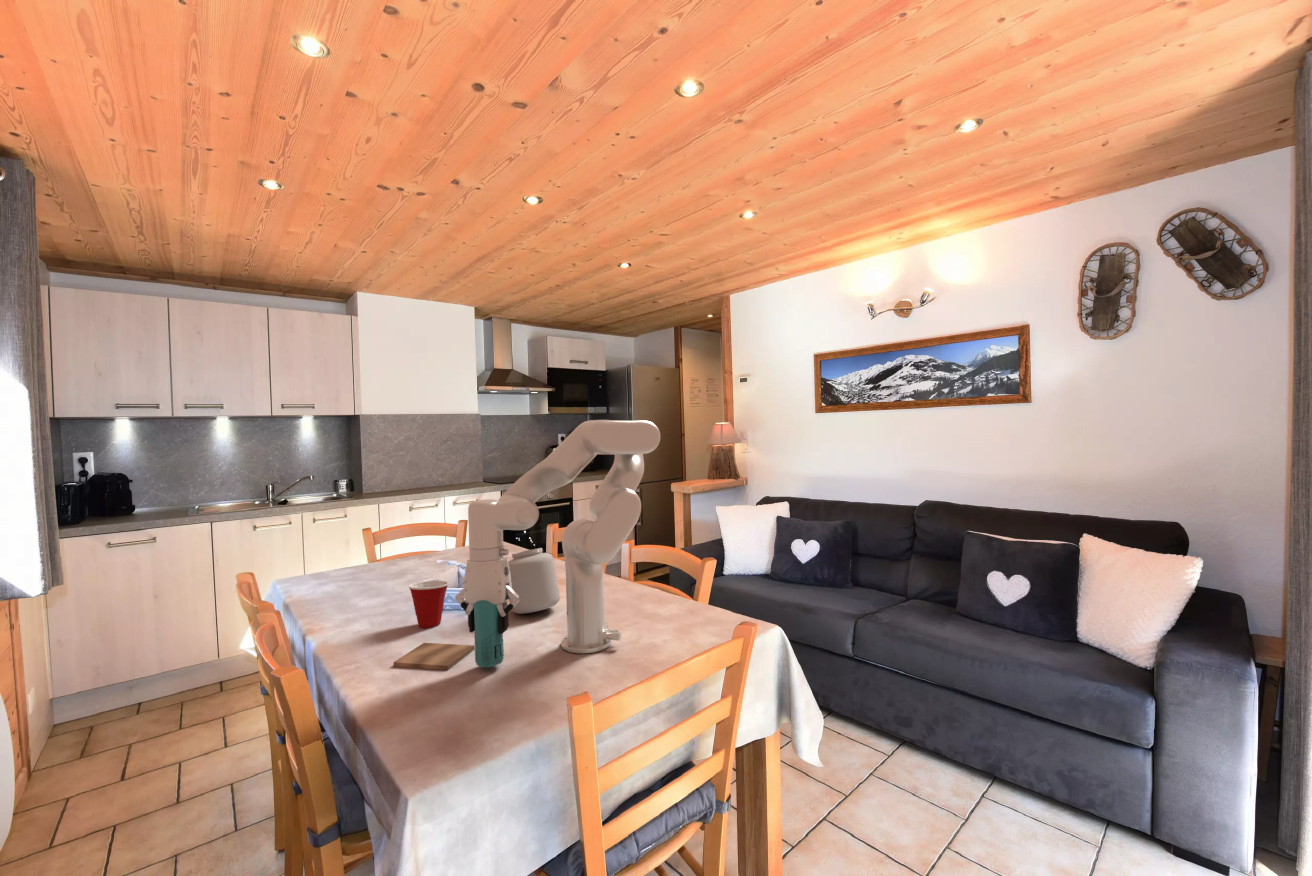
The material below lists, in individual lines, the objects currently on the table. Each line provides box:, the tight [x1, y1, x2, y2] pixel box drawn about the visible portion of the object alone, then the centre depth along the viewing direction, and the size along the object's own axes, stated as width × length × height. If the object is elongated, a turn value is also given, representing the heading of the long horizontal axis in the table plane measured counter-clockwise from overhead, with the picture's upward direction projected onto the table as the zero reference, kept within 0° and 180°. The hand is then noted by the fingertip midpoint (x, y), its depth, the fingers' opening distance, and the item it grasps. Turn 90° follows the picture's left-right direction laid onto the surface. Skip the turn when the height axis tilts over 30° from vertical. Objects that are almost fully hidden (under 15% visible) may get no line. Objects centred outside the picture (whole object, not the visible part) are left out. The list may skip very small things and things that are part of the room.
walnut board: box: [393, 642, 475, 671], centre depth 135 cm, size 14×12×1 cm
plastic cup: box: [407, 580, 450, 629], centre depth 159 cm, size 11×11×12 cm
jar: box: [508, 530, 561, 615], centre depth 169 cm, size 19×15×25 cm
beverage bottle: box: [473, 600, 505, 668], centre depth 129 cm, size 6×7×20 cm
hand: (488, 630), depth 129 cm, fingers closed on beverage bottle, 6 cm apart
